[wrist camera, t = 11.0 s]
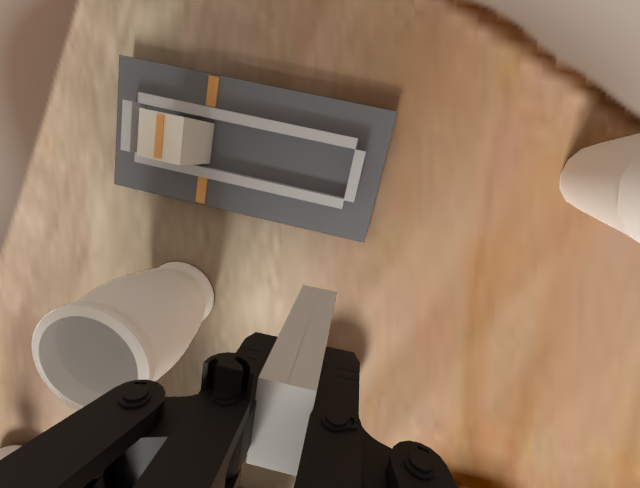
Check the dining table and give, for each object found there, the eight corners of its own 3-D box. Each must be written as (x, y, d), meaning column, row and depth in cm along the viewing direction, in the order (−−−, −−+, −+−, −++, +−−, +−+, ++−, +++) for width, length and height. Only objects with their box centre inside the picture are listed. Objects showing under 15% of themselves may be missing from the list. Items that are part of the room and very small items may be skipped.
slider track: (364, 238, 38) (364, 247, 34) (126, 182, 40) (100, 185, 36) (395, 114, 34) (399, 109, 30) (132, 60, 36) (104, 49, 32)
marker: (205, 203, 37) (204, 203, 37) (196, 201, 37) (195, 201, 37) (219, 77, 34) (218, 77, 33) (209, 75, 34) (208, 75, 34)
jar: (215, 249, 40) (131, 302, 26) (230, 329, 43) (160, 418, 29) (133, 255, 42) (12, 308, 28) (152, 332, 45) (49, 417, 30)
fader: (210, 163, 36) (178, 165, 30) (173, 155, 36) (135, 155, 30) (214, 123, 35) (182, 117, 29) (177, 115, 35) (138, 107, 29)
